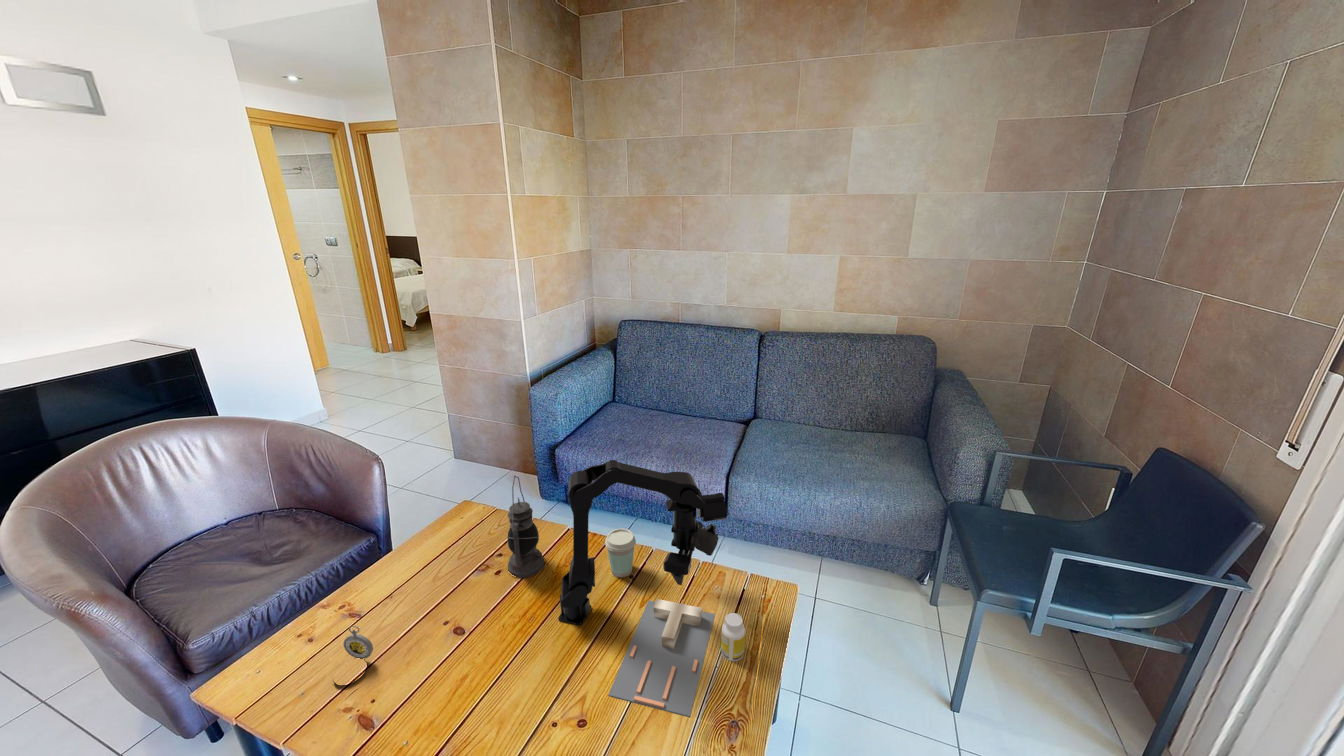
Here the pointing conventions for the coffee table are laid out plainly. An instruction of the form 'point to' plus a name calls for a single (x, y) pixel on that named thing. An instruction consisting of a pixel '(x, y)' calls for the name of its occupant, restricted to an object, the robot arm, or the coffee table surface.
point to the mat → (663, 665)
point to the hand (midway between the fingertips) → (684, 572)
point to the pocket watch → (358, 645)
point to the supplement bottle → (733, 637)
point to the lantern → (523, 540)
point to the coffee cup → (620, 551)
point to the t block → (675, 619)
